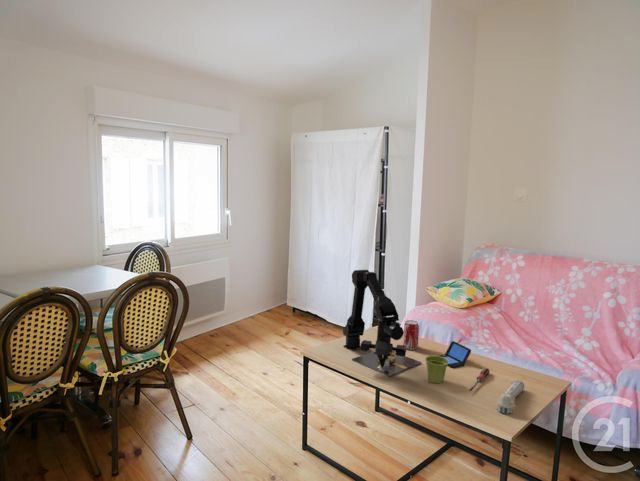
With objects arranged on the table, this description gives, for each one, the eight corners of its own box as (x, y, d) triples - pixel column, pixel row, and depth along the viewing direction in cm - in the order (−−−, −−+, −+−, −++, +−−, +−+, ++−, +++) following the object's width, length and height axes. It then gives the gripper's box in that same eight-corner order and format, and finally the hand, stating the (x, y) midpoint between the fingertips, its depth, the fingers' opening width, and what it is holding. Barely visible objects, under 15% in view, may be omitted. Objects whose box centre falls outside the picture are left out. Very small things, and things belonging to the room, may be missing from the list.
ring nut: (377, 355, 202) (377, 347, 202) (395, 356, 201) (395, 349, 201) (377, 370, 185) (377, 362, 185) (396, 372, 184) (396, 363, 184)
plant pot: (448, 377, 183) (449, 357, 182) (446, 387, 174) (448, 366, 173) (425, 374, 186) (426, 354, 185) (422, 383, 177) (423, 362, 176)
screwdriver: (473, 396, 168) (473, 388, 167) (465, 393, 170) (466, 386, 169) (490, 374, 188) (491, 367, 188) (483, 372, 190) (484, 365, 189)
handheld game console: (433, 358, 204) (434, 343, 203) (451, 355, 208) (452, 340, 207) (452, 369, 192) (453, 352, 191) (470, 365, 197) (472, 349, 196)
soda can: (416, 345, 219) (418, 320, 218) (418, 351, 212) (420, 324, 210) (402, 344, 220) (403, 319, 218) (403, 350, 213) (405, 323, 211)
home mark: (392, 364, 194) (392, 363, 194) (395, 363, 195) (395, 362, 195) (404, 368, 189) (404, 368, 189) (407, 367, 190) (407, 367, 190)
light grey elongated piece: (526, 381, 173) (512, 396, 152) (524, 398, 173) (510, 415, 153) (512, 377, 176) (496, 391, 155) (510, 394, 176) (494, 410, 156)
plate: (351, 360, 199) (351, 358, 198) (383, 349, 213) (383, 348, 213) (389, 376, 182) (390, 375, 182) (421, 363, 197) (421, 362, 197)
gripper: (358, 335, 179) (356, 371, 181) (405, 341, 175) (402, 378, 177) (363, 326, 190) (361, 361, 192) (407, 332, 185) (405, 368, 187)
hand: (382, 367), depth 187 cm, fingers closed
